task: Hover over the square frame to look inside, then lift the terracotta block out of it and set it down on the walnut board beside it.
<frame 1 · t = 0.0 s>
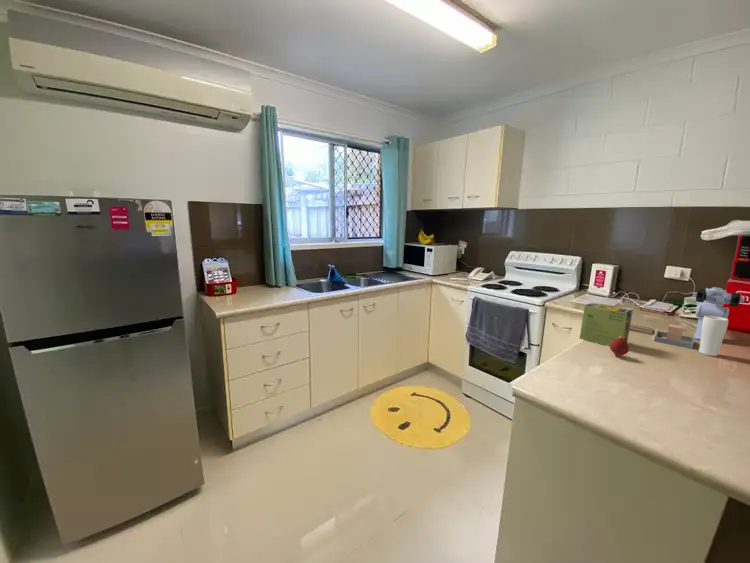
hand: (718, 298, 127), 22 cm above the worktop, tool horizontal, fingers open, 7 cm apart
block: (674, 334, 139), in the square frame
square frame: (673, 341, 140), on the worktop
pomegranate: (617, 356, 122), on the worktop
board: (639, 329, 155), on the worktop
protein box: (602, 341, 138), on the worktop
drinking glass: (707, 354, 126), on the worktop
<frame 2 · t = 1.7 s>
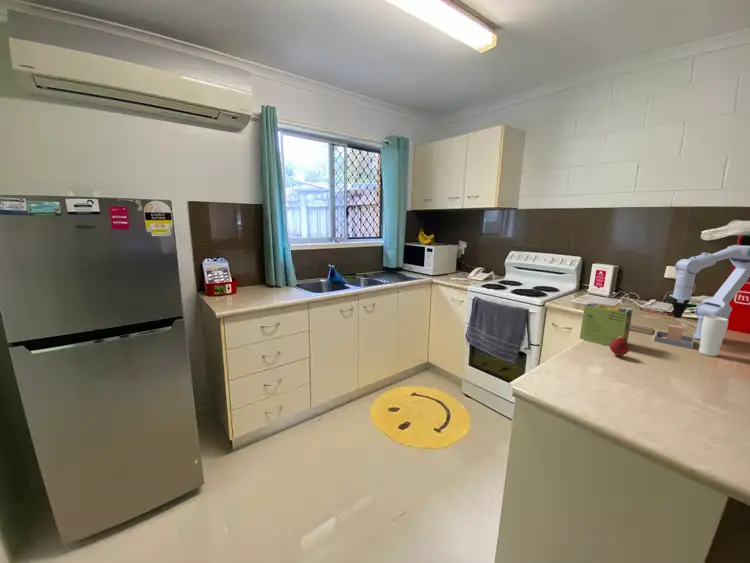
hand: (677, 316, 142), 10 cm above the worktop, tool pointing down, fingers open, 7 cm apart
nothing on the worktop moved.
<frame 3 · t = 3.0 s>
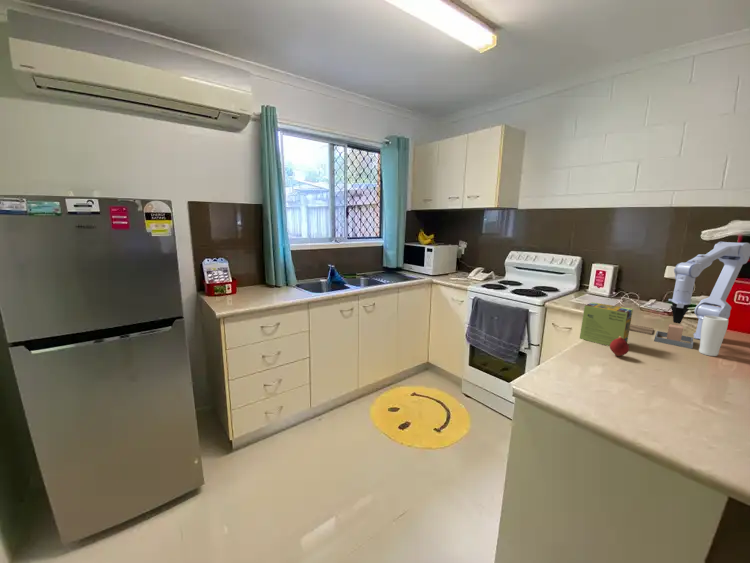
hand: (677, 321, 138), 9 cm above the worktop, tool pointing down, fingers open, 7 cm apart
nothing on the worktop moved.
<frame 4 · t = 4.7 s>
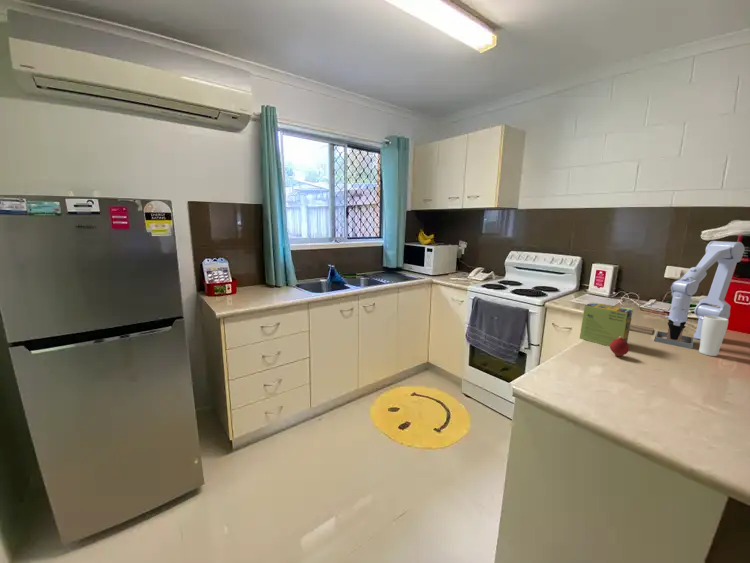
hand: (673, 337, 139), 2 cm above the worktop, tool pointing down, fingers closed on block, 4 cm apart
block: (674, 333, 139), in the square frame, touching gripper
everything else where it was.
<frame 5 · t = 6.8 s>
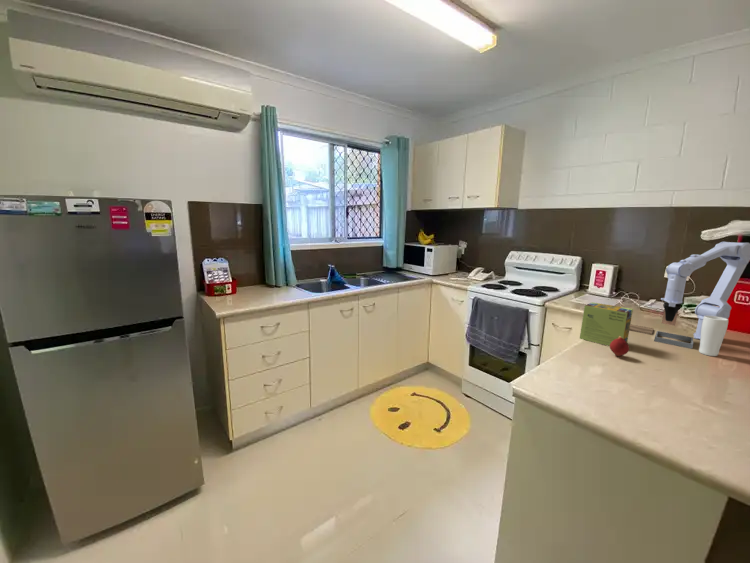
hand: (669, 319, 141), 9 cm above the worktop, tool pointing down, fingers closed on block, 4 cm apart
block: (670, 315, 141), point 11 cm above the worktop, touching gripper
everything else where it was.
when the fingers open (4 cm above the worktop, at t = 9.1 s): block drops 1 cm, resting on board.
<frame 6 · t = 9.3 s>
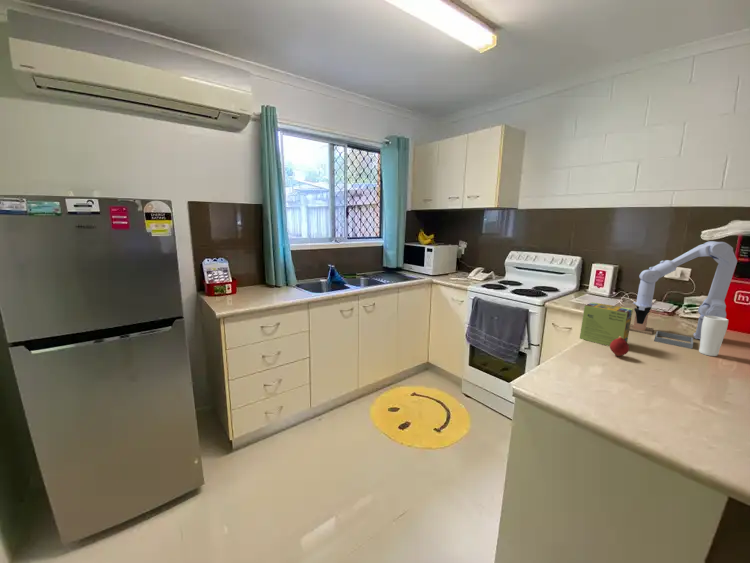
hand: (640, 322, 154), 4 cm above the worktop, tool pointing down, fingers open, 6 cm apart
block: (640, 321, 154), on the board, point 4 cm above the worktop
everything else where it was.
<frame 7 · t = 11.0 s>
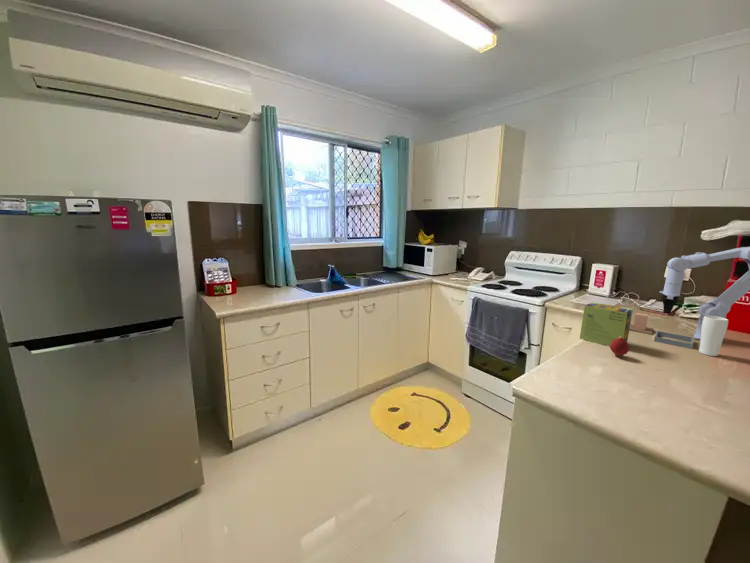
hand: (667, 311, 149), 10 cm above the worktop, tool pointing down, fingers open, 7 cm apart
nothing on the worktop moved.
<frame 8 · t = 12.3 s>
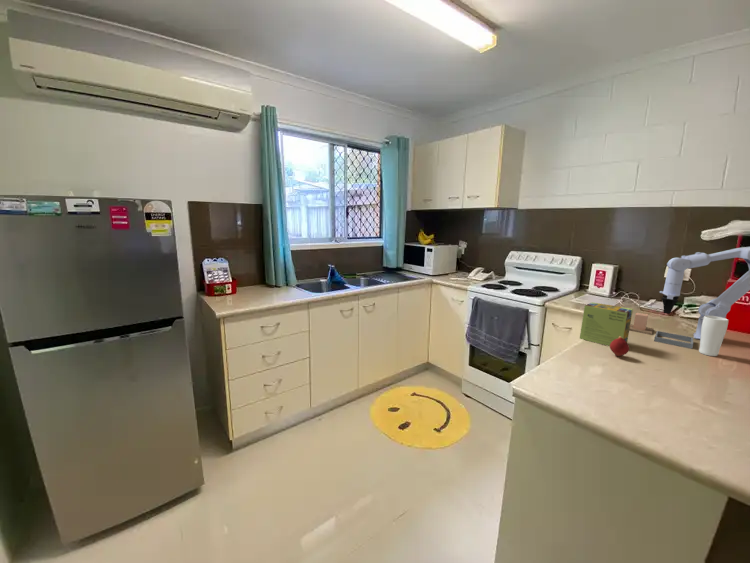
hand: (667, 311, 149), 10 cm above the worktop, tool pointing down, fingers open, 7 cm apart
nothing on the worktop moved.
at the end: block inside the target area on the board (0.0 cm from its centre), point 4.3 cm above the board's base; block tilted 0°; the gripper is holding nothing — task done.
